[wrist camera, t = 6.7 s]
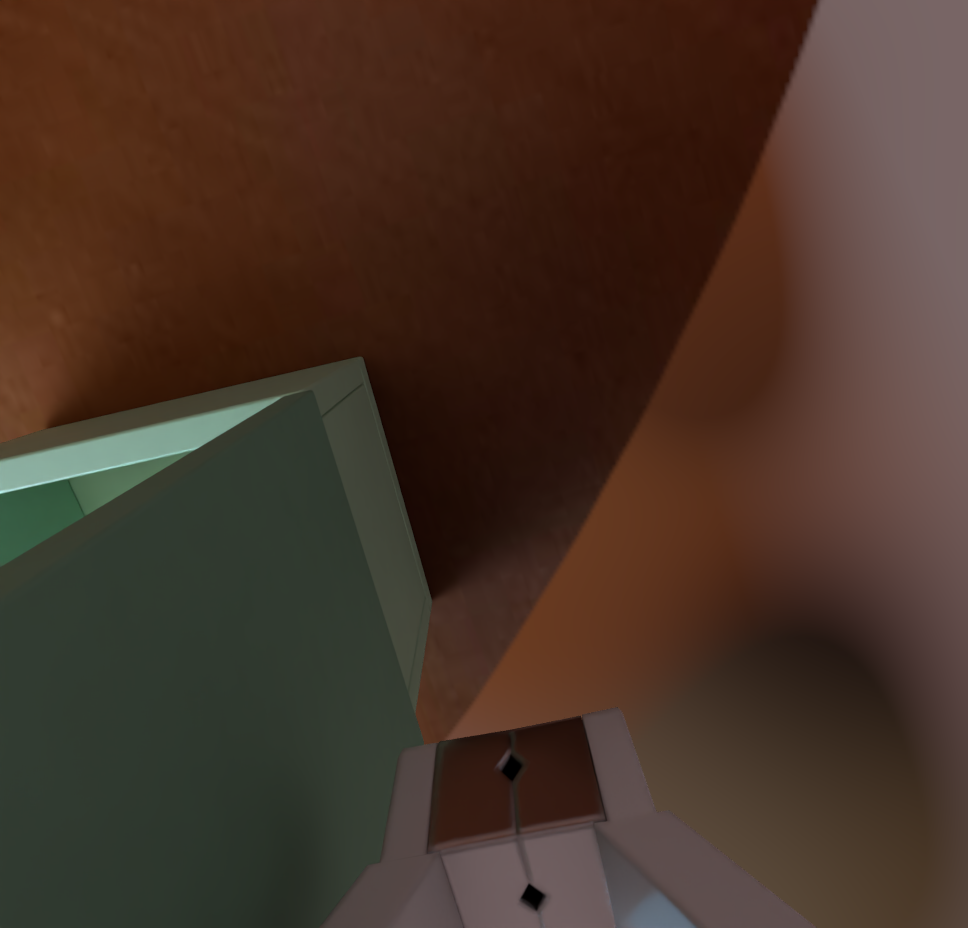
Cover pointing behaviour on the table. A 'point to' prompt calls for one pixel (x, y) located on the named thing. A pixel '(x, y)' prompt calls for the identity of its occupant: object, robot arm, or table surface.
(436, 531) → the table surface
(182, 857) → the lunchbox lid
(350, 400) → the lunchbox
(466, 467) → the table surface
